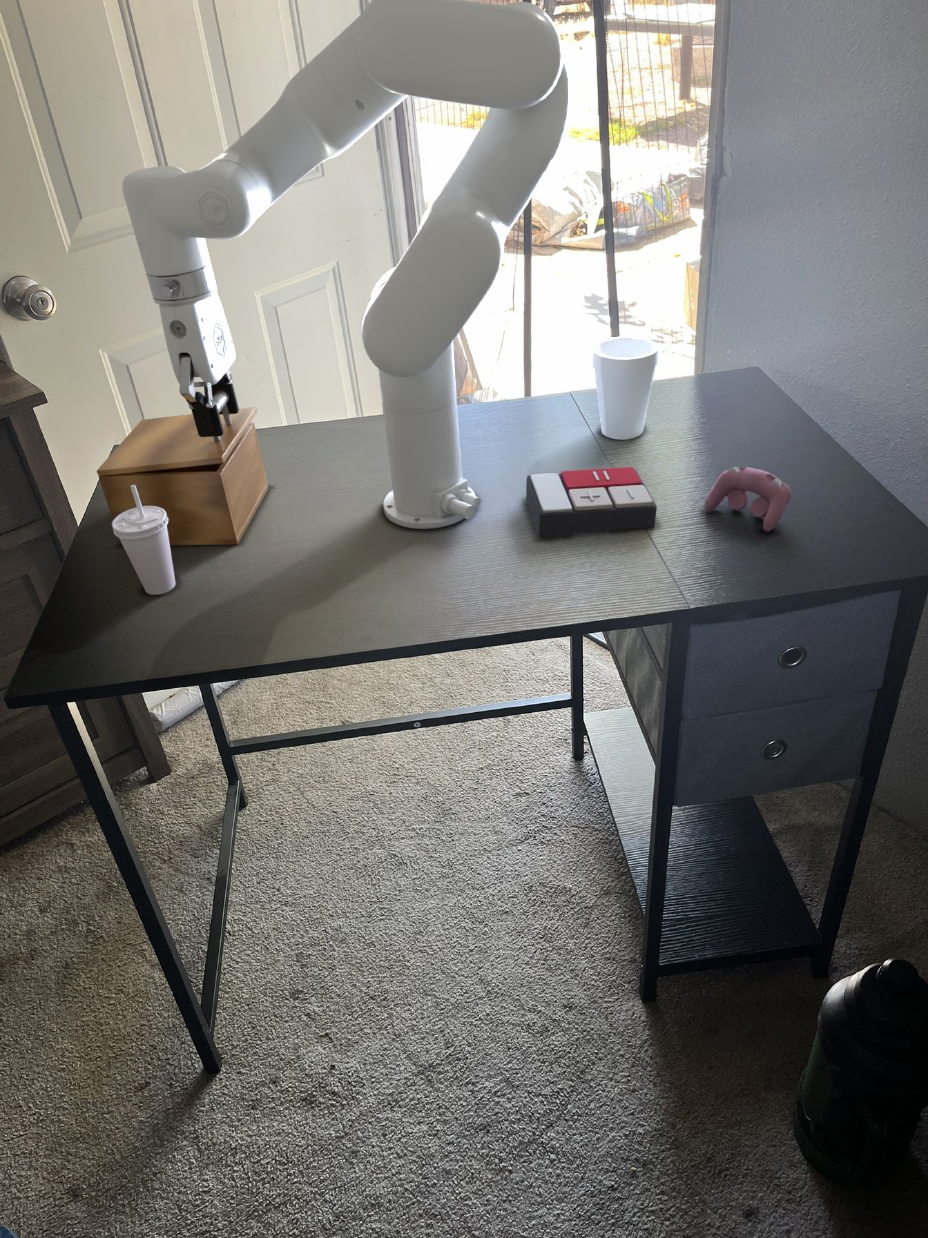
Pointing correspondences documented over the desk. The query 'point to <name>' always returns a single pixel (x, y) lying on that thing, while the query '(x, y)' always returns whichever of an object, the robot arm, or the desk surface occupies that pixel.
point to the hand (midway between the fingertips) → (219, 422)
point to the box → (198, 495)
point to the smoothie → (147, 545)
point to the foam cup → (624, 383)
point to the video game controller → (755, 481)
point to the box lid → (177, 442)
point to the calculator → (589, 501)
